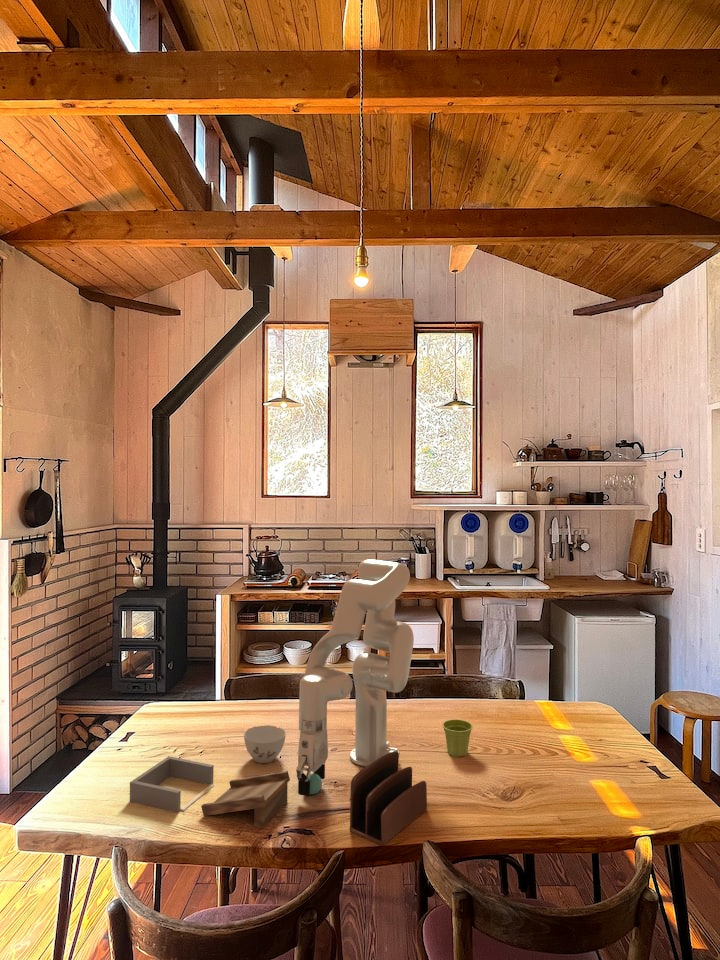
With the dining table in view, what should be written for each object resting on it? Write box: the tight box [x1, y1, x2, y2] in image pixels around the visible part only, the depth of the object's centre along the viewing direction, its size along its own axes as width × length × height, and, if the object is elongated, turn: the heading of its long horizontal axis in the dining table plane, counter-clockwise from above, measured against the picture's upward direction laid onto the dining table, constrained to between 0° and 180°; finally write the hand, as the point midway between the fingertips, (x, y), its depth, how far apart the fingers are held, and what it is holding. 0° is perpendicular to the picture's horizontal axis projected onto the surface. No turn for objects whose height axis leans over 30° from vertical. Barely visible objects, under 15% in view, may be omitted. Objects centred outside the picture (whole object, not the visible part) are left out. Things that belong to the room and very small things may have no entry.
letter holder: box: [349, 750, 428, 847], centre depth 152 cm, size 10×20×14 cm, turn 142°
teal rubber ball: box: [309, 772, 323, 795], centre depth 165 cm, size 5×5×5 cm
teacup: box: [243, 724, 287, 764], centre depth 185 cm, size 15×12×8 cm
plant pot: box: [442, 718, 474, 758], centre depth 189 cm, size 9×9×9 cm
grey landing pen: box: [129, 756, 215, 813], centre depth 164 cm, size 16×16×5 cm
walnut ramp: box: [200, 770, 291, 829], centre depth 157 cm, size 18×14×8 cm
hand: (311, 786), depth 164 cm, fingers open, 9 cm apart
